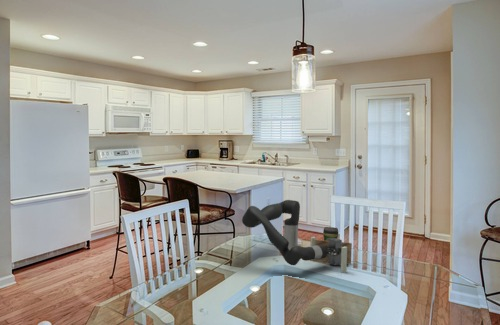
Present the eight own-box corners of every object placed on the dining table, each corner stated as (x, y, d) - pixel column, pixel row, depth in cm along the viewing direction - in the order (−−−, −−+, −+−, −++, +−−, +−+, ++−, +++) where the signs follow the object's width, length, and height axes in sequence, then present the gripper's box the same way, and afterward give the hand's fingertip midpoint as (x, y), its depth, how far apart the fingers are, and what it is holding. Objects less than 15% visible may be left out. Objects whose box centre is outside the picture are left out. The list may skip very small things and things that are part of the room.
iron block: (328, 262, 194) (329, 238, 194) (334, 261, 197) (335, 237, 196) (334, 265, 190) (335, 240, 189) (340, 263, 192) (341, 239, 192)
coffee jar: (338, 255, 213) (339, 226, 212) (337, 259, 205) (338, 229, 204) (322, 253, 215) (323, 225, 215) (321, 257, 208) (322, 228, 207)
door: (314, 259, 200) (315, 240, 200) (314, 259, 201) (315, 239, 201) (350, 263, 194) (351, 243, 194) (350, 263, 196) (351, 243, 195)
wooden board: (309, 260, 202) (310, 237, 201) (313, 259, 203) (314, 236, 203) (342, 273, 181) (343, 247, 180) (346, 272, 183) (347, 247, 182)
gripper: (307, 255, 191) (328, 252, 200) (325, 262, 179) (347, 258, 188) (308, 242, 191) (329, 239, 200) (326, 248, 179) (347, 245, 188)
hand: (337, 249), depth 194 cm, fingers closed on iron block, 5 cm apart
